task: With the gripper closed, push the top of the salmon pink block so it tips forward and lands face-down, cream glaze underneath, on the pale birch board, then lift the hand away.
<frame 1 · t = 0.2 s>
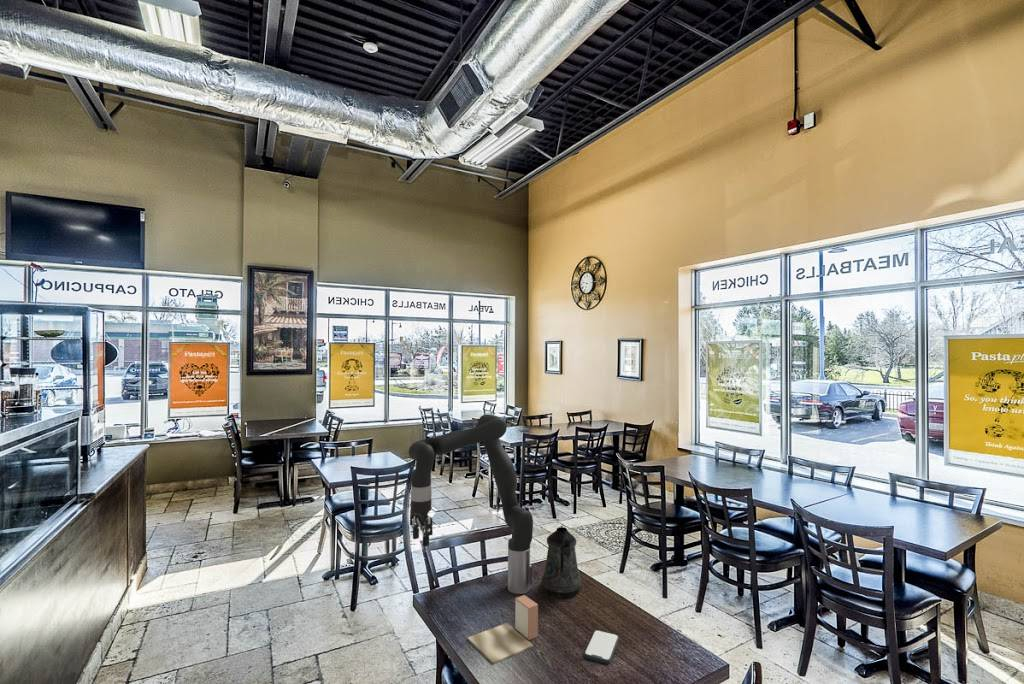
hand: (420, 542, 178), 29 cm above the table, tool pointing down, fingers open, 8 cm apart
salmon pink block: (526, 632, 172), on the table
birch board: (500, 643, 166), on the table
phone case: (601, 649, 164), on the table
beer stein: (563, 590, 203), on the table
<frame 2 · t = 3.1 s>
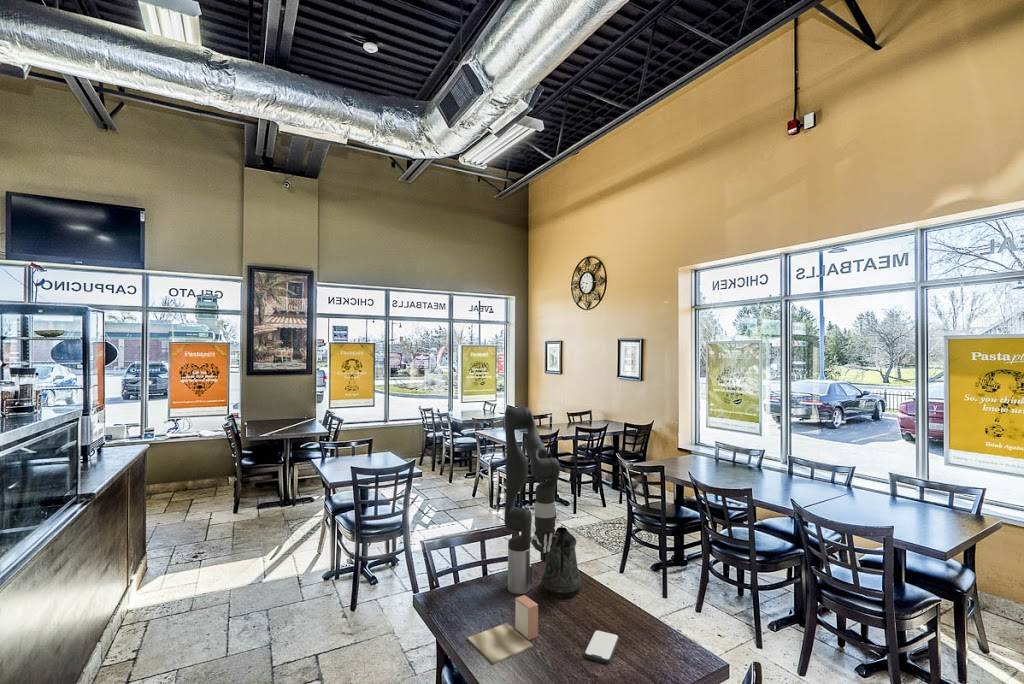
hand: (544, 561, 177), 23 cm above the table, tool pointing down, fingers closed
nothing on the table moved.
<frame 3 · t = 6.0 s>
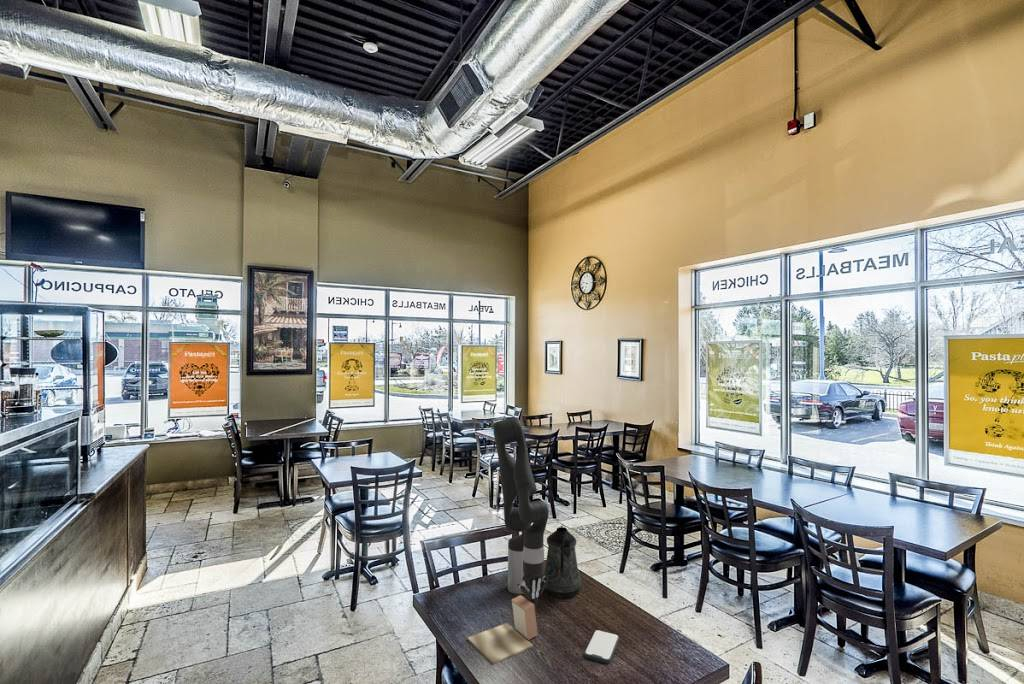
hand: (533, 607, 174), 8 cm above the table, tool pointing down, fingers closed
salmon pink block: (526, 631, 172), on the table, tilted 9°
everything else where it was.
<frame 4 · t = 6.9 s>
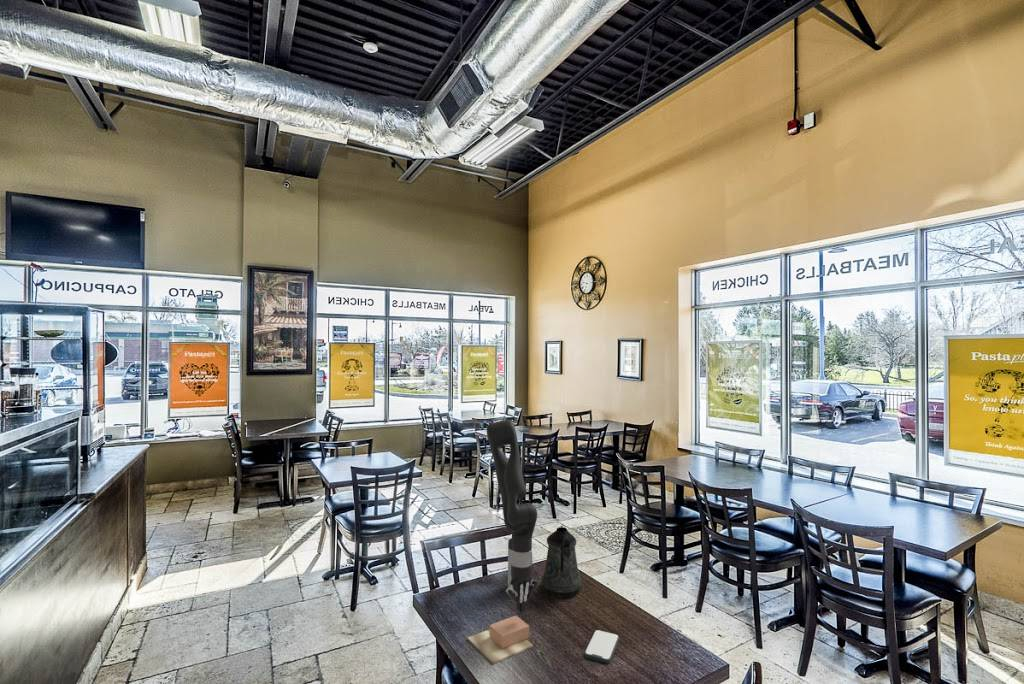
hand: (521, 611, 171), 8 cm above the table, tool pointing down, fingers closed
salmon pink block: (522, 626, 171), point 3 cm above the table, tilted 90°, touching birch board
everything else where it was.
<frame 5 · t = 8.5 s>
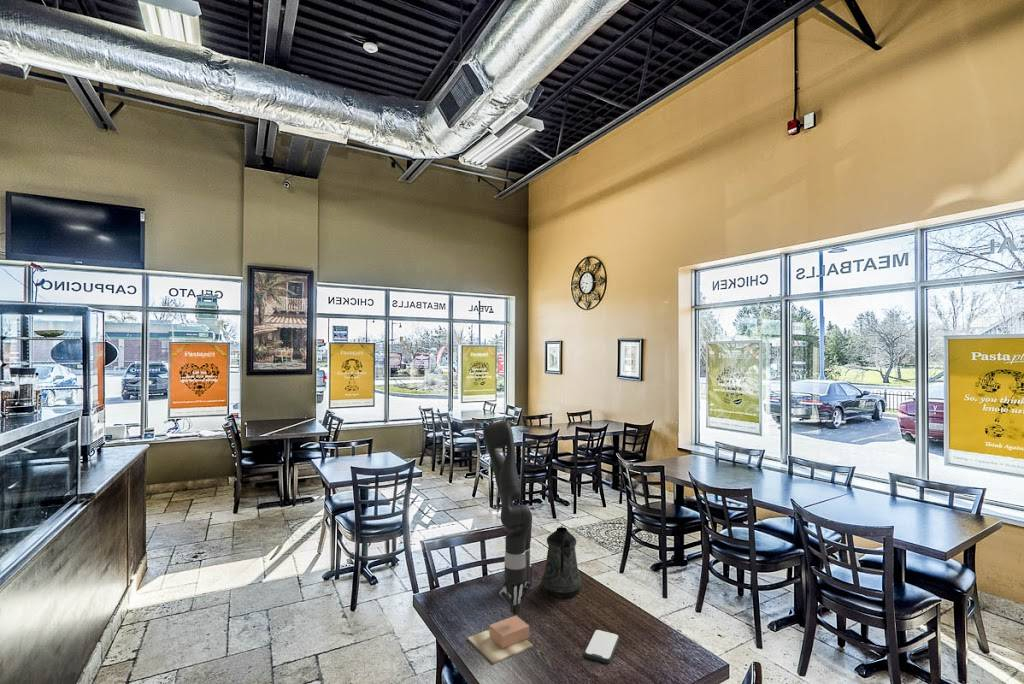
hand: (514, 613, 169), 8 cm above the table, tool pointing down, fingers closed
nothing on the table moved.
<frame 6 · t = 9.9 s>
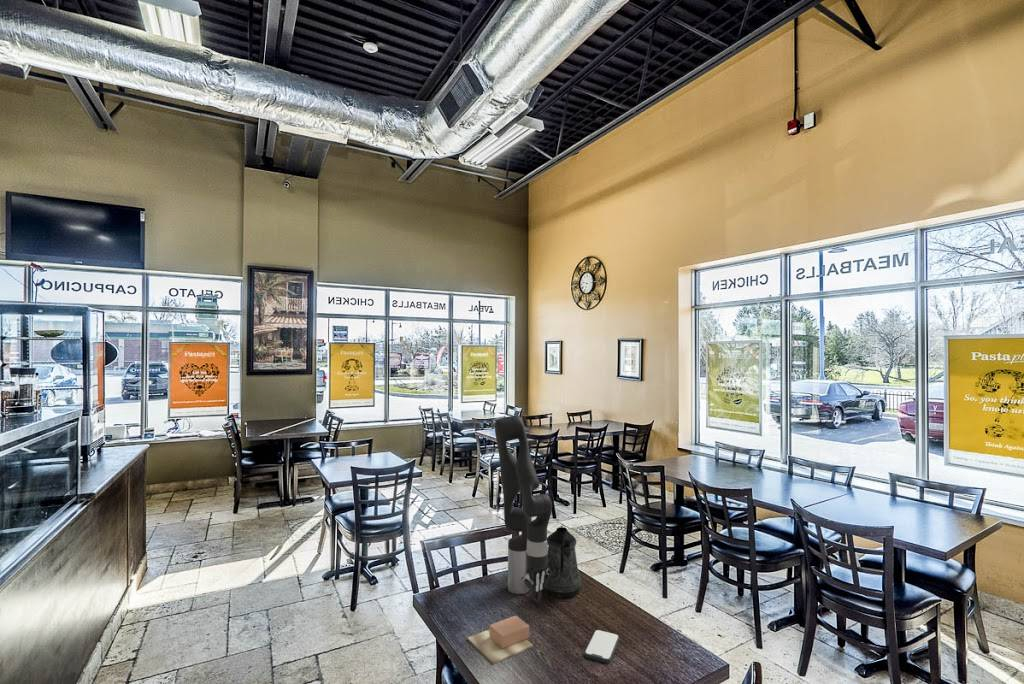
hand: (537, 599, 175), 10 cm above the table, tool pointing down, fingers closed
nothing on the table moved.
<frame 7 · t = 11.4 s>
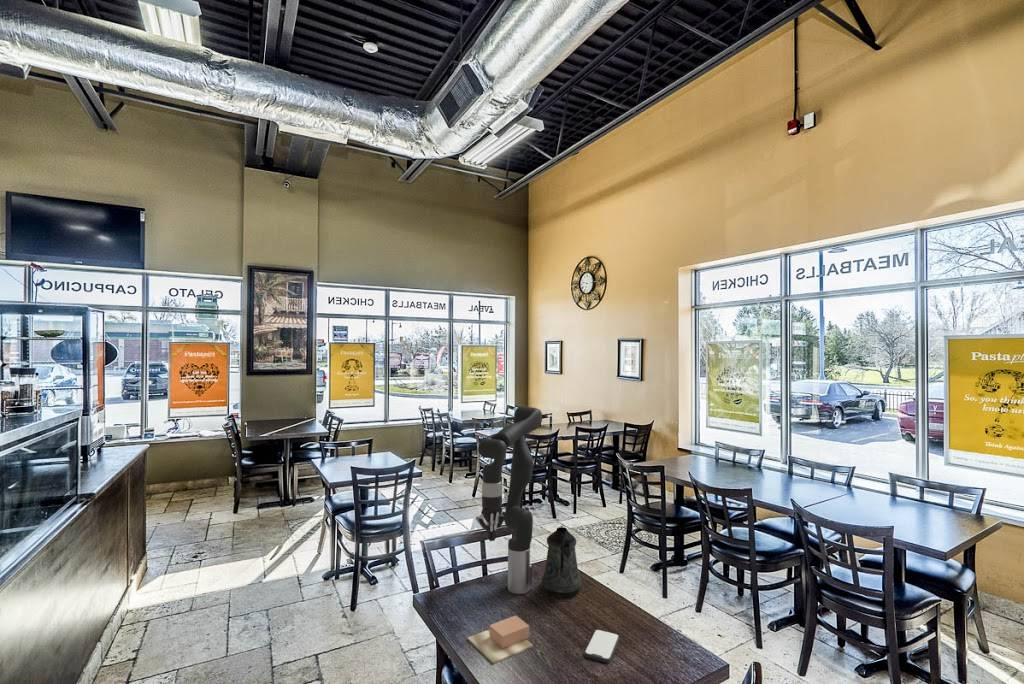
hand: (491, 540, 181), 29 cm above the table, tool pointing down, fingers closed
nothing on the table moved.
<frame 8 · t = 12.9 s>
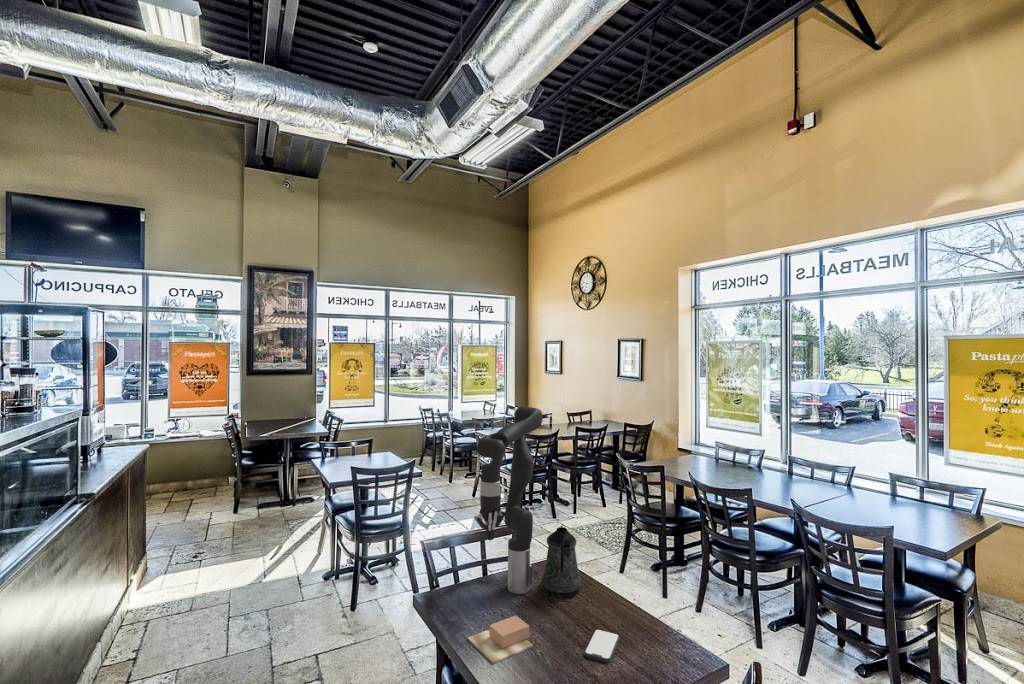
hand: (490, 539, 181), 29 cm above the table, tool pointing down, fingers closed
nothing on the table moved.
at the end: salmon pink block tilted 90°; salmon pink block touching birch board; salmon pink block inside the target area (3.4 cm from its centre), point 2.7 cm above the table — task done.
